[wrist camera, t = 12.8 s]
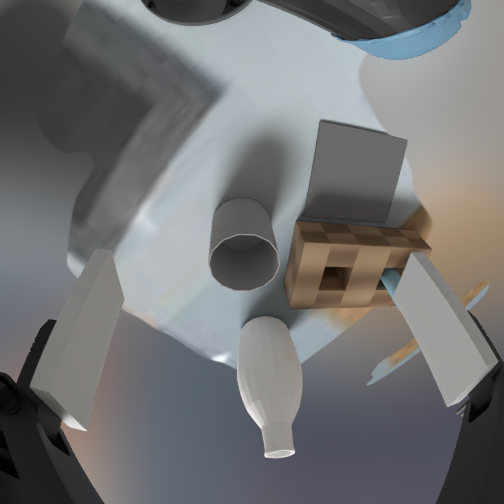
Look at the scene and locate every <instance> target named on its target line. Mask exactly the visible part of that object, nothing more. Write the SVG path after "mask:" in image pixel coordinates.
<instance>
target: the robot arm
mask: <svg viewBox="0 0 504 504" xmlns="http://www.w3.org/2000/svg"><path fill="white" fill-rule="evenodd" d="M251 1H252V0H141V2H142V3H143V4H144V6H145V7H146V8H147V9H148V10H149V11H151V12H152V13H153V14H155V15H156V16H157V17H159V18H161V19H163V20H165V21H167V22H170V23H173V24H178V25H184V26H201V25H208V24H213V23H217V22H220V21H223V20H225V19H228V18H230V17H232V16H234V15H235V14H237V13H239V12H240V11H241V10H243V9H244V8H245V7H246V6H247V5H249V3H250V2H251ZM257 1H259V2H262V3H265V4H268V5H270V6H273V7H275V8H278V9H281V10H283V11H285V12H288V13H290V14H292V15H295V16H297V17H299V18H302V19H304V20H306V21H308V22H310V23H312V24H314V25H316V26H318V27H320V28H322V29H324V30H326V31H328V32H330V33H331V35H332V36H333V37H335V38H337V39H338V40H340V41H343V42H347V43H350V44H353V45H355V46H356V47H358V48H360V49H362V50H364V51H365V52H367V53H369V54H371V55H373V56H375V57H379V58H384V59H389V60H404V59H409V58H414V57H417V56H420V55H423V54H425V53H428V52H430V51H432V50H434V49H435V48H437V47H439V46H441V45H442V44H444V43H445V42H447V41H448V40H449V39H450V38H452V37H453V36H454V35H455V34H456V33H457V32H458V31H459V30H460V28H461V23H460V21H462V20H466V19H467V18H468V16H469V14H470V11H471V0H257ZM393 298H394V300H395V301H396V303H397V305H398V307H399V309H400V310H401V312H402V314H403V316H404V318H405V320H406V322H407V323H408V325H409V327H410V329H411V331H412V333H413V335H414V337H415V339H416V341H417V343H418V345H419V347H420V349H421V351H422V353H423V355H424V357H425V359H426V361H427V363H428V365H429V367H430V369H431V371H432V374H433V376H434V378H435V380H436V382H437V385H438V387H439V389H440V392H441V394H442V396H443V399H444V401H445V403H446V406H447V407H448V406H451V405H453V404H456V403H459V402H460V401H461V400H462V399H463V398H464V397H465V396H467V395H469V397H470V399H469V400H468V401H467V402H466V403H465V404H464V405H462V406H461V407H460V408H459V409H458V410H457V413H456V414H459V413H460V412H461V411H462V410H464V409H465V411H464V412H463V413H462V414H461V416H462V417H463V420H462V425H461V429H460V433H459V437H458V441H457V444H456V448H455V451H454V455H453V458H452V461H451V465H450V467H449V471H448V474H447V476H446V479H445V482H444V485H443V487H442V490H441V492H440V495H439V498H438V500H437V502H436V504H504V362H503V361H502V359H501V357H500V356H499V354H498V352H497V350H496V349H495V347H494V345H493V344H492V342H491V340H490V339H489V337H488V336H486V332H485V331H484V329H482V326H481V325H480V323H479V322H478V320H477V319H476V318H475V317H474V316H473V315H472V314H471V313H470V312H469V311H467V310H466V309H465V307H464V306H463V304H462V303H461V301H460V300H459V299H458V297H457V296H456V295H455V293H454V292H453V290H452V289H451V287H450V286H449V285H448V284H447V282H446V281H445V279H444V278H443V277H442V276H441V274H440V273H439V271H437V269H436V268H435V266H434V265H433V264H432V262H431V261H430V260H429V259H428V257H427V256H426V255H425V254H424V253H423V252H411V254H410V257H409V259H408V262H407V264H406V267H405V269H404V272H403V274H402V277H401V279H400V281H399V284H398V286H397V288H396V290H395V293H394V295H393ZM123 302H124V296H123V292H122V289H121V285H120V282H119V278H118V275H117V271H116V267H115V263H114V259H113V255H112V251H111V250H95V251H94V253H93V254H92V256H91V258H90V259H89V261H88V263H87V265H86V266H85V268H84V270H83V272H82V273H81V275H80V277H79V279H78V281H77V283H76V284H75V286H74V288H73V290H72V292H71V294H70V296H69V298H68V300H67V301H66V303H65V306H64V307H63V309H62V311H61V313H60V315H59V318H58V320H51V319H49V320H48V321H47V322H46V323H45V324H44V325H43V326H42V327H41V328H40V330H39V332H38V334H37V336H36V338H35V343H33V345H32V347H31V349H30V350H31V352H29V354H28V356H27V358H26V361H25V363H24V365H23V368H22V370H21V373H20V375H19V378H18V381H17V383H15V382H14V381H13V379H12V378H11V377H10V376H9V375H7V374H6V373H2V372H0V504H104V502H103V501H102V499H101V498H100V496H99V495H98V493H97V492H96V490H95V488H94V487H93V485H92V484H91V482H90V480H89V479H88V477H87V476H86V474H85V472H84V470H83V469H82V467H81V465H80V463H79V462H78V460H77V458H76V456H75V454H74V453H73V450H72V448H71V446H70V445H69V442H68V440H67V438H66V436H65V434H64V432H63V431H62V429H61V428H60V425H61V421H63V422H64V423H66V424H67V425H68V426H69V427H72V428H76V429H80V430H84V431H88V426H89V422H90V417H91V413H92V408H93V404H94V400H95V396H96V392H97V388H98V384H99V380H100V376H101V372H102V369H103V365H104V362H105V358H106V355H107V352H108V348H109V345H110V341H111V338H112V335H113V332H114V329H115V326H116V323H117V320H118V317H119V313H120V311H121V308H122V305H123Z"/></svg>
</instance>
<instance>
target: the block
mask: <svg viewBox="0 0 504 504" xmlns="http://www.w3.org/2000/svg"><path fill="white" fill-rule="evenodd" d="M431 250H432V249H431V248H430V247H429V245H428V244H427V243H426V242H425V241H424V240H423V239H422V238H421V237H420V236H419V235H418V233H417V232H416V231H415V230H405V229H394V228H383V227H372V226H360V225H347V224H334V223H320V222H305V221H296V223H295V228H294V234H293V239H292V244H291V250H290V255H289V260H288V265H287V270H286V275H285V280H284V287H285V292H286V296H287V300H288V304H289V309H320V308H357V307H380V306H396V304H395V302H394V301H393V299H392V297H391V295H390V294H389V292H388V290H387V289H386V287H385V285H384V284H383V282H382V280H381V279H380V278H381V275H382V273H383V270H384V268H395V269H396V270H397V272H398V273H399V275H400V276H401V277H402V274H403V272H404V269H405V267H406V264H407V262H408V259H409V257H410V254H411V252H423V253H424V254H425V255H426V256H427V257H428V258H429V255H430V253H431ZM325 266H330V267H325Z"/></svg>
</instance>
